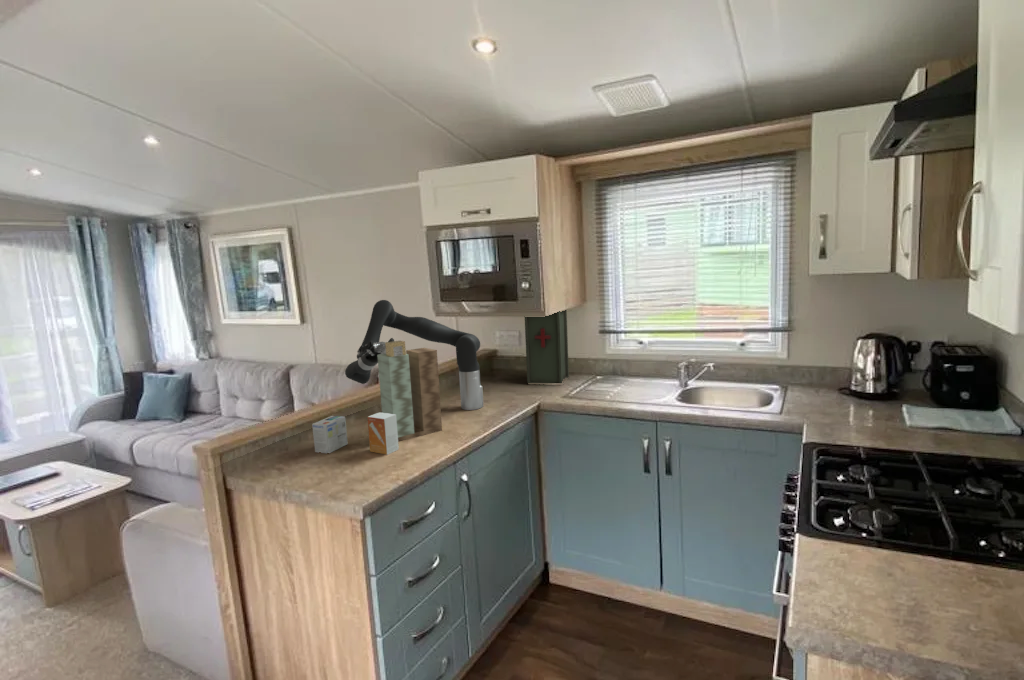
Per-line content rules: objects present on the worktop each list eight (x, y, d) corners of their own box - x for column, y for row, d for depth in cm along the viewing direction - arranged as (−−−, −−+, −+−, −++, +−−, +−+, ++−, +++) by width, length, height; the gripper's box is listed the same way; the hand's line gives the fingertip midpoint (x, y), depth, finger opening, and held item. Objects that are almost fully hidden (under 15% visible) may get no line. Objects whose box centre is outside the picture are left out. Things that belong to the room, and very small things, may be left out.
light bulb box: (334, 442, 203) (331, 415, 201) (348, 444, 200) (346, 416, 199) (314, 452, 193) (311, 423, 191) (329, 454, 190) (326, 424, 189)
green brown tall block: (429, 425, 220) (424, 347, 215) (442, 430, 212) (436, 350, 207) (383, 436, 208) (377, 354, 203) (395, 442, 200) (388, 357, 195)
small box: (369, 452, 190) (366, 416, 188) (382, 446, 196) (379, 411, 194) (387, 455, 186) (384, 418, 184) (399, 449, 192) (396, 413, 190)
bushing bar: (385, 349, 214) (384, 337, 213) (405, 354, 200) (404, 341, 199) (371, 351, 210) (370, 339, 210) (390, 356, 196) (389, 343, 195)
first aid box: (568, 378, 296) (566, 305, 291) (561, 385, 279) (559, 308, 273) (536, 377, 302) (533, 306, 296) (527, 384, 284) (524, 309, 279)
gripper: (350, 352, 217) (362, 334, 204) (383, 347, 225) (396, 330, 213) (355, 369, 215) (367, 352, 202) (388, 363, 223) (402, 347, 211)
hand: (382, 341), depth 208 cm, fingers open, 8 cm apart
